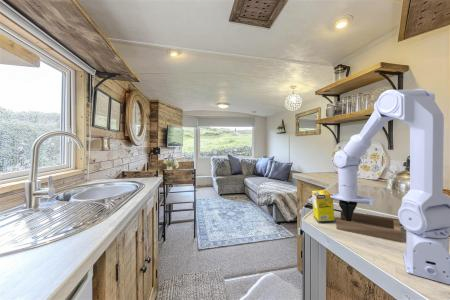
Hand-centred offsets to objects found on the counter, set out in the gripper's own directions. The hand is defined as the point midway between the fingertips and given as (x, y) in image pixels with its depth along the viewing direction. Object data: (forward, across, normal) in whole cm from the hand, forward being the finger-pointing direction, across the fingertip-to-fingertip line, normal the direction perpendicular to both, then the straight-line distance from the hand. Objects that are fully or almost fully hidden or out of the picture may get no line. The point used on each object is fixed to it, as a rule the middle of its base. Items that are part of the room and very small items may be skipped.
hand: (348, 221), depth 72 cm
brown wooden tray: (+1, -6, 0) cm, 6 cm away
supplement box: (+1, +8, 0) cm, 8 cm away
